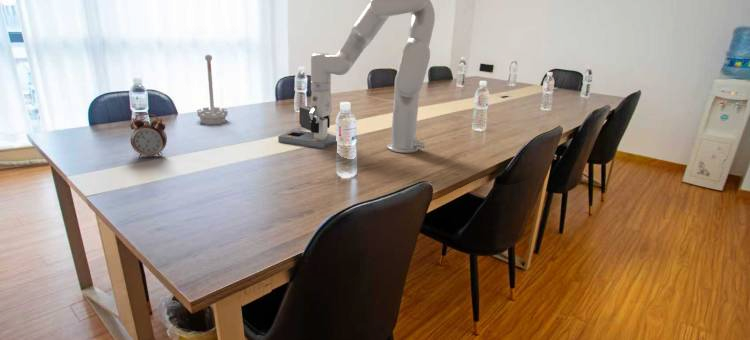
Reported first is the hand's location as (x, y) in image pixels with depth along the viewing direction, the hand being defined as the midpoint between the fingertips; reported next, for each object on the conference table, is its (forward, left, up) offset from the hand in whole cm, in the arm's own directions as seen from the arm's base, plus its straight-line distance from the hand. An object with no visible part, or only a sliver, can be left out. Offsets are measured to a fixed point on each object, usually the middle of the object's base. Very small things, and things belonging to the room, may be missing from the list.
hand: (320, 129), depth 171 cm
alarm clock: (+44, +42, -6) cm, 61 cm away
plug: (0, 0, -6) cm, 6 cm away
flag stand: (+60, -10, -6) cm, 61 cm away
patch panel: (+6, 0, -6) cm, 8 cm away
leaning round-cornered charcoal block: (+14, -19, -6) cm, 25 cm away
